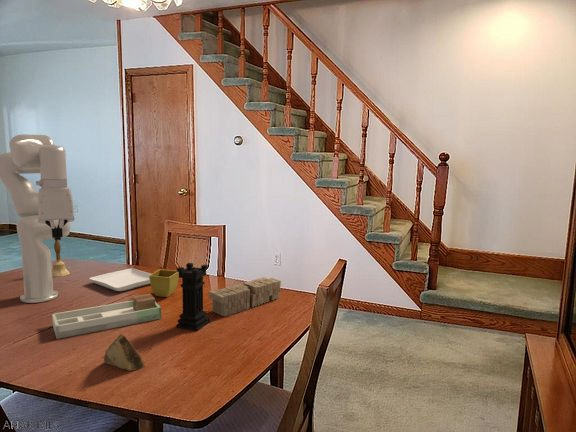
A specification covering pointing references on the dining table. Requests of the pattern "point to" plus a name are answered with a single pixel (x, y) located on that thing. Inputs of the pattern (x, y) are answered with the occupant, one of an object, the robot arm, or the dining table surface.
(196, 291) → the chess piece
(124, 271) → the salad plate
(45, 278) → the robot arm
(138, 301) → the walnut block
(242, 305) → the block tower
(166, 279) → the flower pot
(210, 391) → the dining table surface
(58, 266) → the hand bell
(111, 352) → the rock
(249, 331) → the dining table surface
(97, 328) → the tray
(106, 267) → the dining table surface
